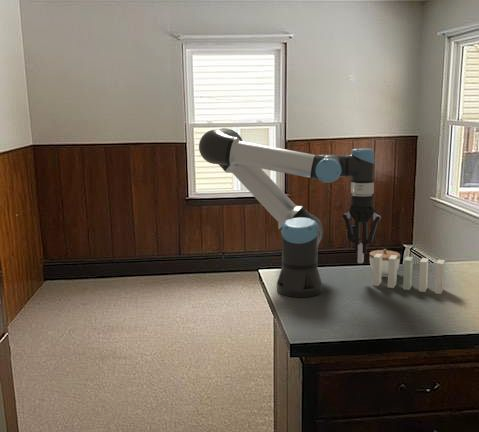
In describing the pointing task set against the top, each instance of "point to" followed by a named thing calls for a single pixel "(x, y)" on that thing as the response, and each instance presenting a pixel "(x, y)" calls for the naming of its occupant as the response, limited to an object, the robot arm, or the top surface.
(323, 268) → the top surface
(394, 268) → the tile
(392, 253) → the lidded jar
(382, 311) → the top surface
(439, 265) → the tile
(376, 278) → the tile
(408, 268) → the tile
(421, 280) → the tile
